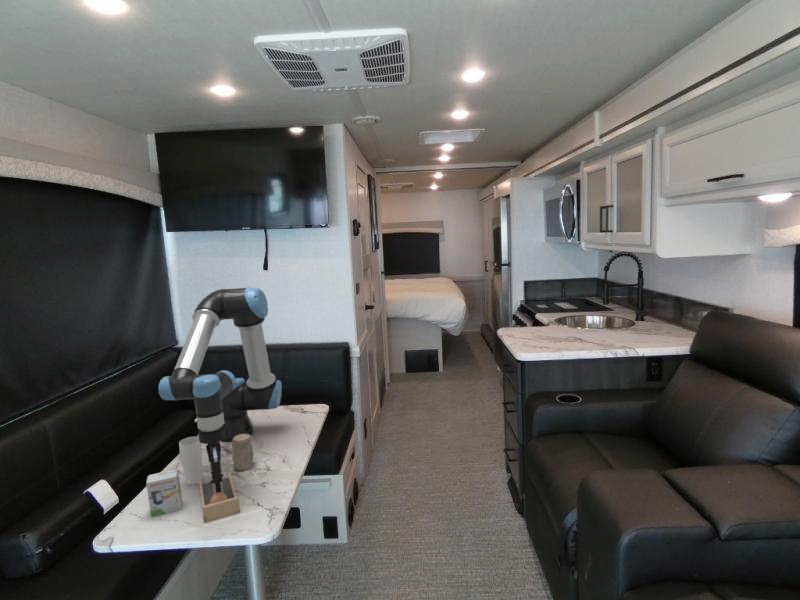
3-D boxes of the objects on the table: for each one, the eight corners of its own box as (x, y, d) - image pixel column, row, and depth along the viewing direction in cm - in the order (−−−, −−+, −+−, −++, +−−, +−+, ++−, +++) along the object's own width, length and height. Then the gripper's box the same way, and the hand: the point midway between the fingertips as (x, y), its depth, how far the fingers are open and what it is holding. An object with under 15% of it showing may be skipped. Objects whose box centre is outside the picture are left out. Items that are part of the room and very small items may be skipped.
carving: (258, 464, 170) (255, 433, 169) (243, 474, 164) (240, 442, 162) (245, 462, 173) (242, 431, 171) (230, 471, 166) (226, 439, 165)
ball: (210, 514, 141) (208, 496, 143) (228, 508, 144) (225, 492, 146) (211, 511, 137) (208, 494, 139) (229, 506, 140) (226, 489, 142)
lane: (199, 486, 157) (197, 472, 156) (230, 478, 161) (229, 464, 161) (204, 524, 136) (202, 508, 135) (240, 513, 140) (238, 498, 139)
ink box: (182, 503, 147) (178, 468, 146) (182, 511, 143) (177, 475, 141) (152, 510, 144) (147, 474, 142) (150, 519, 139) (145, 482, 138)
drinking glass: (209, 478, 162) (204, 437, 160) (195, 488, 156) (190, 446, 154) (193, 476, 164) (189, 435, 162) (179, 486, 158) (173, 443, 156)
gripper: (196, 422, 146) (204, 493, 149) (199, 437, 134) (207, 514, 137) (222, 417, 149) (229, 486, 152) (226, 431, 137) (234, 506, 140)
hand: (219, 499), depth 145 cm, fingers closed
